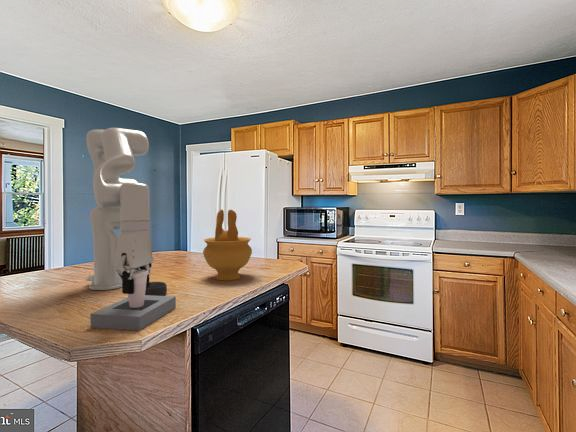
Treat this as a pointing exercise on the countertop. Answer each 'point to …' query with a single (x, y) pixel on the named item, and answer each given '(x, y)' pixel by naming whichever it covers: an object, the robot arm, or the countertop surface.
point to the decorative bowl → (227, 248)
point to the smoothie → (138, 288)
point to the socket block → (132, 313)
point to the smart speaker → (156, 289)
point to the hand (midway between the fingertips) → (136, 289)
